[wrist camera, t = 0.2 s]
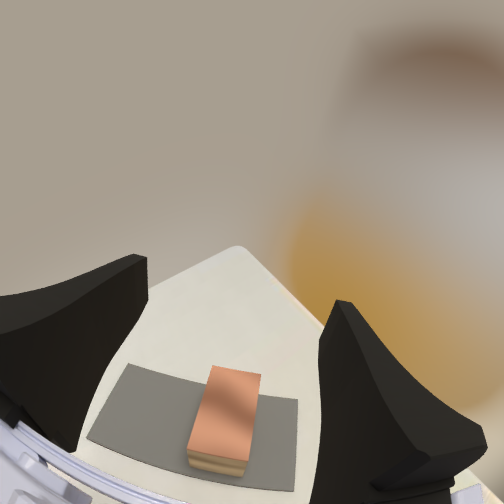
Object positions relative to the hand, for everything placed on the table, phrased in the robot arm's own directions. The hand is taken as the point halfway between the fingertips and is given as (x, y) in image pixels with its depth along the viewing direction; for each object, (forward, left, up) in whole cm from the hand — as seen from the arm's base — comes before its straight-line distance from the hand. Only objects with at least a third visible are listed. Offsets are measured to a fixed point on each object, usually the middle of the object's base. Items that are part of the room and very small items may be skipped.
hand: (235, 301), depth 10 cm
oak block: (+6, 0, -21) cm, 22 cm away
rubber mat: (+6, +3, -22) cm, 22 cm away
